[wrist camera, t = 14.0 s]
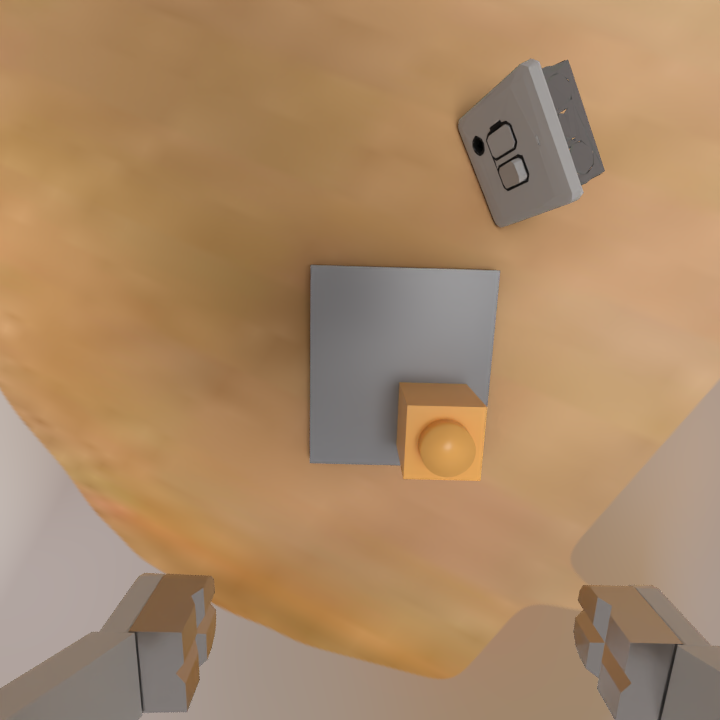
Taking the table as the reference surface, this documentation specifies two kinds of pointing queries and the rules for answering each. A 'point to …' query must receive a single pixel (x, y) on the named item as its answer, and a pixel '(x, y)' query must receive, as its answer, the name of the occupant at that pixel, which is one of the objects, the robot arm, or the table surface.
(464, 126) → the electrical switch
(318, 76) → the table surface
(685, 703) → the robot arm
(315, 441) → the board
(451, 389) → the orange knobbed cube
